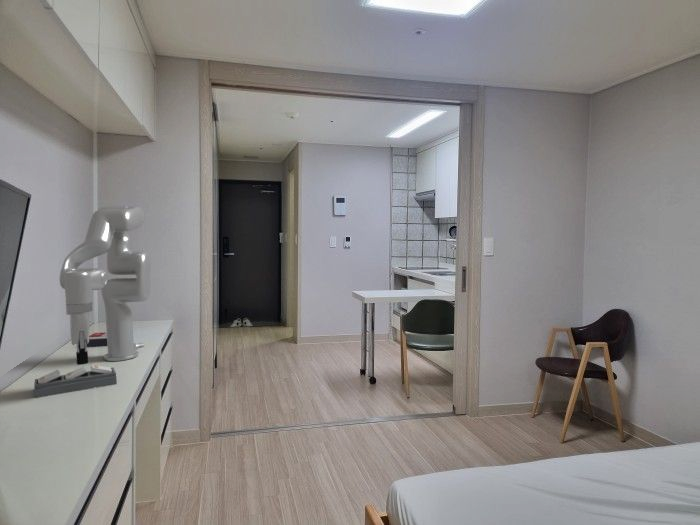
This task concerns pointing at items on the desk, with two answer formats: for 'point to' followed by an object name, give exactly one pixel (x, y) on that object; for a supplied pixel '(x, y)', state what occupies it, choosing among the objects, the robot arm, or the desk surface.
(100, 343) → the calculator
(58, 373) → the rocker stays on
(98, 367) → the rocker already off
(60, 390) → the rocker switch panel
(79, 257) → the robot arm
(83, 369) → the rocker middle
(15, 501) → the desk surface
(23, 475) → the desk surface
